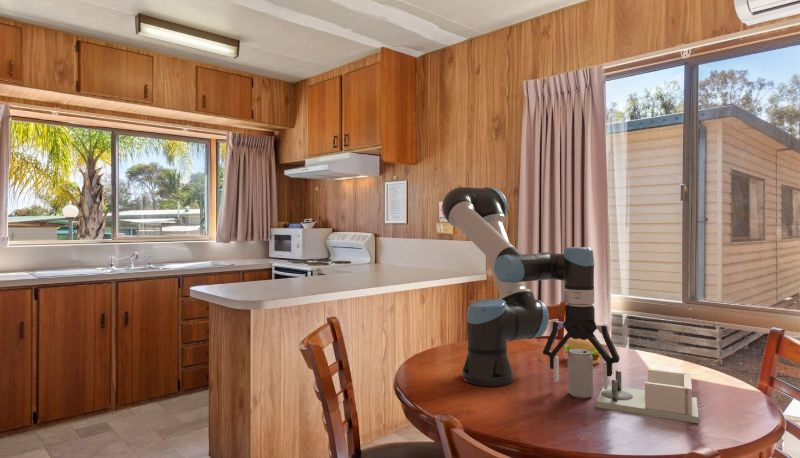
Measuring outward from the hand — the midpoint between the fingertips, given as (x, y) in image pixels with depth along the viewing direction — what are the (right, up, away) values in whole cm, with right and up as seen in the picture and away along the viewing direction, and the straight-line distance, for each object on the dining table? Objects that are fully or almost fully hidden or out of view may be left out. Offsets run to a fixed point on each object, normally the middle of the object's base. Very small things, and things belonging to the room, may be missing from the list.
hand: (580, 384), depth 132 cm
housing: (+18, -1, -10) cm, 21 cm away
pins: (+8, -1, -4) cm, 9 cm away
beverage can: (0, -3, 0) cm, 3 cm away
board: (+14, -3, -8) cm, 16 cm away
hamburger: (+13, -3, +33) cm, 35 cm away
